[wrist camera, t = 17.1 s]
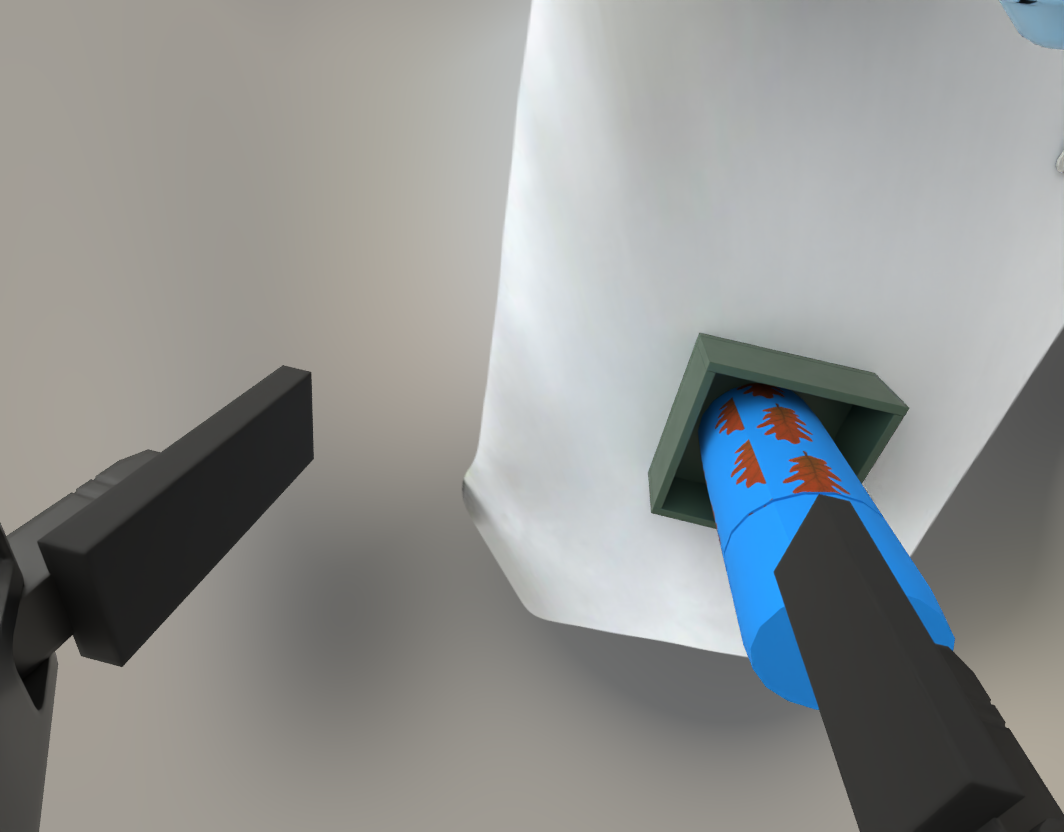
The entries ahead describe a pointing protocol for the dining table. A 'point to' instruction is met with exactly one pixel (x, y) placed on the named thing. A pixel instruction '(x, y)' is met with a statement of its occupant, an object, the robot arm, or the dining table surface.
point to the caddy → (720, 365)
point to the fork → (1060, 163)
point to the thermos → (785, 520)
